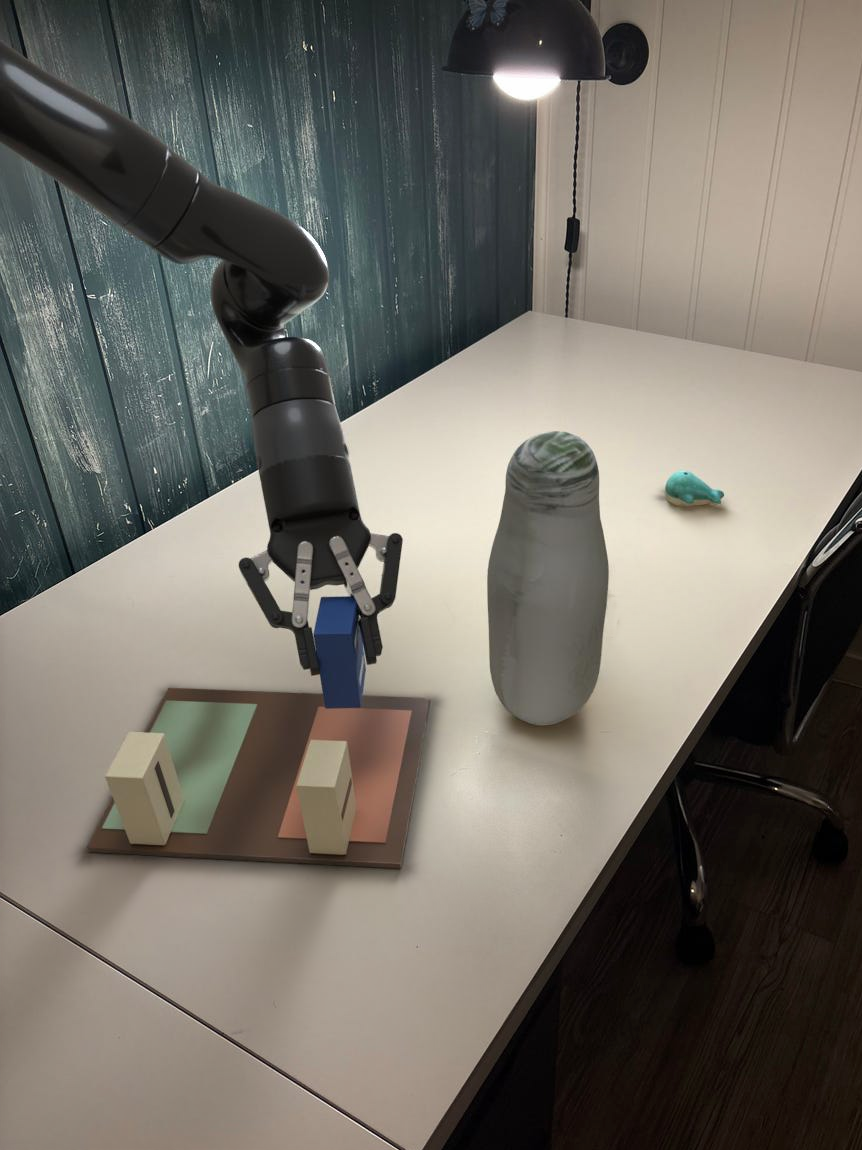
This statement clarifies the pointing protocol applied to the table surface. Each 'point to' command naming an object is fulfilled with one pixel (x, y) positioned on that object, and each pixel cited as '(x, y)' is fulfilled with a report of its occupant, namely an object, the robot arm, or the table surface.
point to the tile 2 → (327, 796)
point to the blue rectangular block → (340, 652)
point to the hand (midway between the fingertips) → (343, 667)
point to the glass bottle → (548, 581)
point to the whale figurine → (690, 490)
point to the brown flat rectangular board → (279, 775)
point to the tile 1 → (145, 788)
